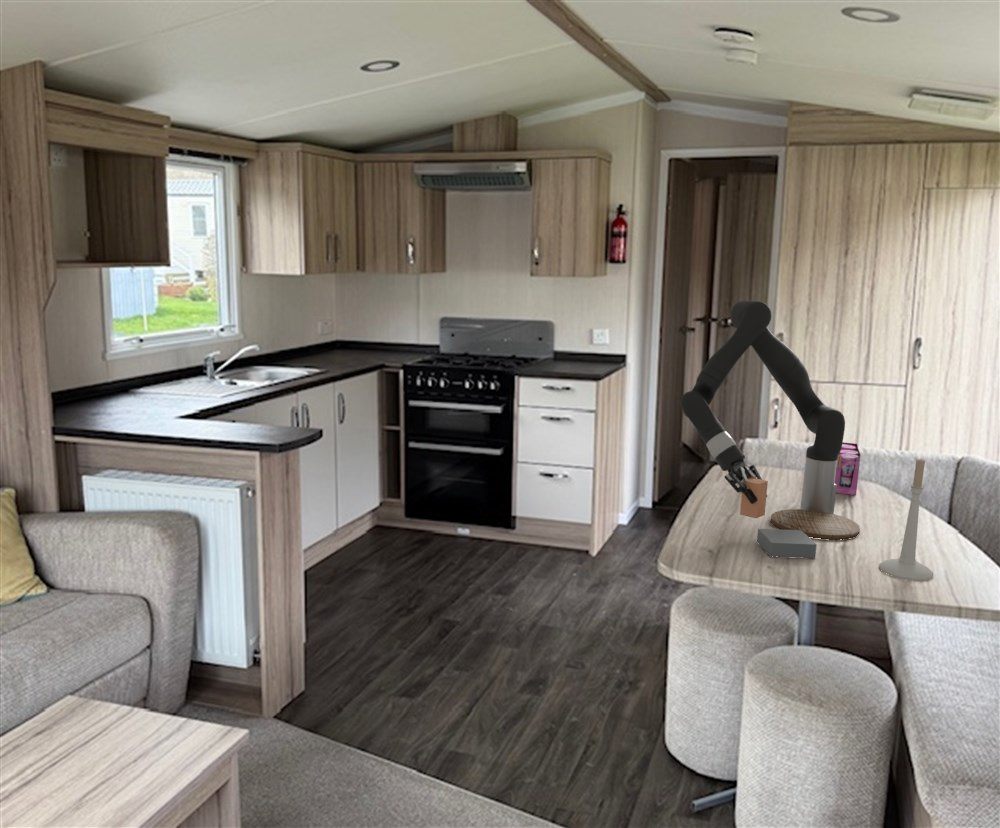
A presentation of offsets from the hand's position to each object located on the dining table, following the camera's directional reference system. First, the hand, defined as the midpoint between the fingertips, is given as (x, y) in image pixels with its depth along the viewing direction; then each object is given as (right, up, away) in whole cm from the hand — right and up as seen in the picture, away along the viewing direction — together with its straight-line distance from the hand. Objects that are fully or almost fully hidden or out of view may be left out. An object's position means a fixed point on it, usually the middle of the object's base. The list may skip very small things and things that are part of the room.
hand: (759, 500), depth 255 cm
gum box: (+47, -1, +62) cm, 78 cm away
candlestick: (+31, -16, -22) cm, 42 cm away
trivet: (+20, -10, +13) cm, 26 cm away
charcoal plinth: (+4, -13, -10) cm, 16 cm away
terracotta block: (-1, -4, +2) cm, 5 cm away
